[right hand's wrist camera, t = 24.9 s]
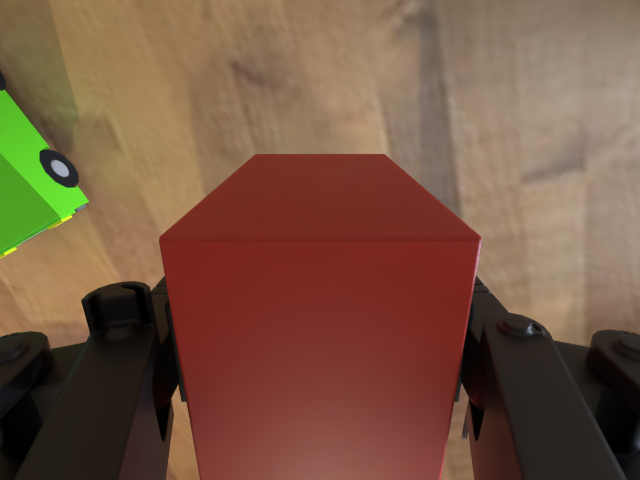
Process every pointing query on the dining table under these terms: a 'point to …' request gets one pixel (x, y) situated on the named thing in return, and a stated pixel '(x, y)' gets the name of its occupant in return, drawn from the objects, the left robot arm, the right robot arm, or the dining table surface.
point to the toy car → (31, 180)
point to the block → (320, 320)
